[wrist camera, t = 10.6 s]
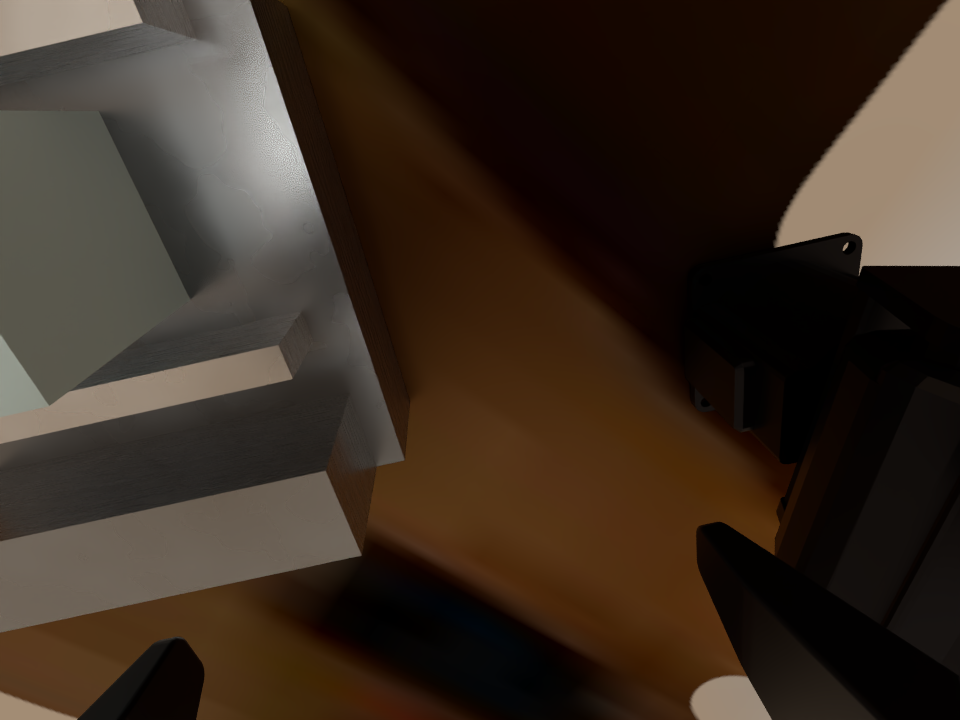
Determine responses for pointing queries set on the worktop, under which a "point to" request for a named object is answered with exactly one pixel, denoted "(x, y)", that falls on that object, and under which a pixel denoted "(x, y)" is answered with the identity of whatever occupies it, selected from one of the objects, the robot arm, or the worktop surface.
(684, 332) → the robot arm
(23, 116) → the block
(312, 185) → the base
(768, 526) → the worktop surface
